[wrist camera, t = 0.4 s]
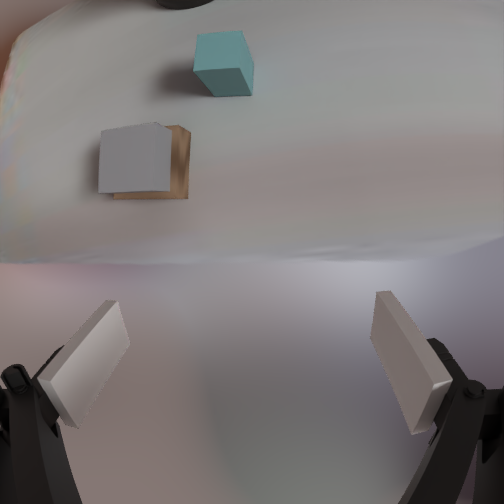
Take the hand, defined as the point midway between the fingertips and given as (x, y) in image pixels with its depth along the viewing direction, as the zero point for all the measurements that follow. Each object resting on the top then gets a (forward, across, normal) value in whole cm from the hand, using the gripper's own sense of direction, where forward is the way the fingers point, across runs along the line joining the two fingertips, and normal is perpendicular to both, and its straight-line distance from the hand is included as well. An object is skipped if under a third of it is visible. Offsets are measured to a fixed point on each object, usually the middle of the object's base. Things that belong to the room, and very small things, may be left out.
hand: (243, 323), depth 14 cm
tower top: (+23, -14, +8) cm, 28 cm away
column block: (+28, -2, +18) cm, 34 cm away
